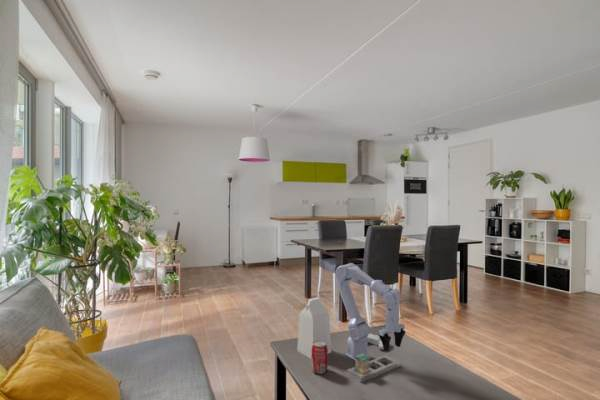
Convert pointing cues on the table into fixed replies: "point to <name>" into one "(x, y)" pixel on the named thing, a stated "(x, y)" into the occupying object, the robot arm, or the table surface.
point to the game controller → (375, 340)
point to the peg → (362, 364)
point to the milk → (313, 327)
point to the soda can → (319, 357)
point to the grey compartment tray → (374, 373)
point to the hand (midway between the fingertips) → (392, 348)
